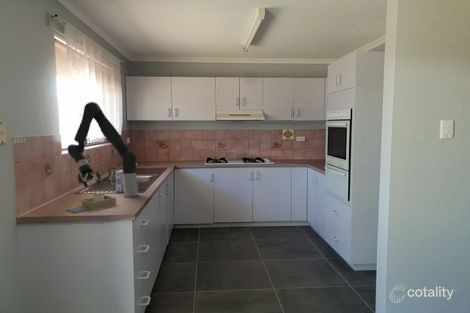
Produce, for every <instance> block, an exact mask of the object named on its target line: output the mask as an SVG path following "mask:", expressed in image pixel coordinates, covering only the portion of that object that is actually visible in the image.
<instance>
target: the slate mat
mask: <svg viewBox="0 0 470 313" xmlns="http://www.w3.org/2000/svg"><path fill="white" fill-rule="evenodd" d="M66 211H67V212H70V213H73V214H77V213H82V212H86V211H90V209H88V208H85V207H82V206H80V205H79V206H74V207H70V208H66Z"/></svg>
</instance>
